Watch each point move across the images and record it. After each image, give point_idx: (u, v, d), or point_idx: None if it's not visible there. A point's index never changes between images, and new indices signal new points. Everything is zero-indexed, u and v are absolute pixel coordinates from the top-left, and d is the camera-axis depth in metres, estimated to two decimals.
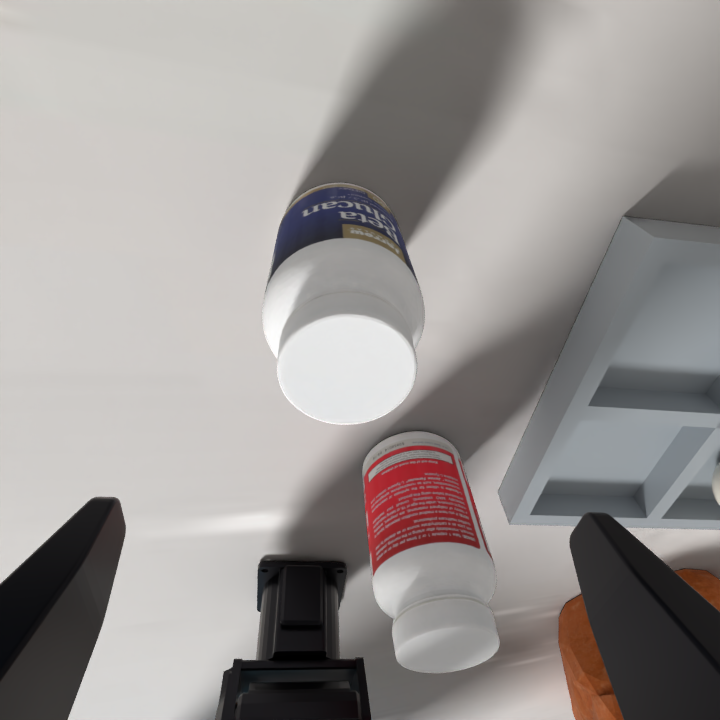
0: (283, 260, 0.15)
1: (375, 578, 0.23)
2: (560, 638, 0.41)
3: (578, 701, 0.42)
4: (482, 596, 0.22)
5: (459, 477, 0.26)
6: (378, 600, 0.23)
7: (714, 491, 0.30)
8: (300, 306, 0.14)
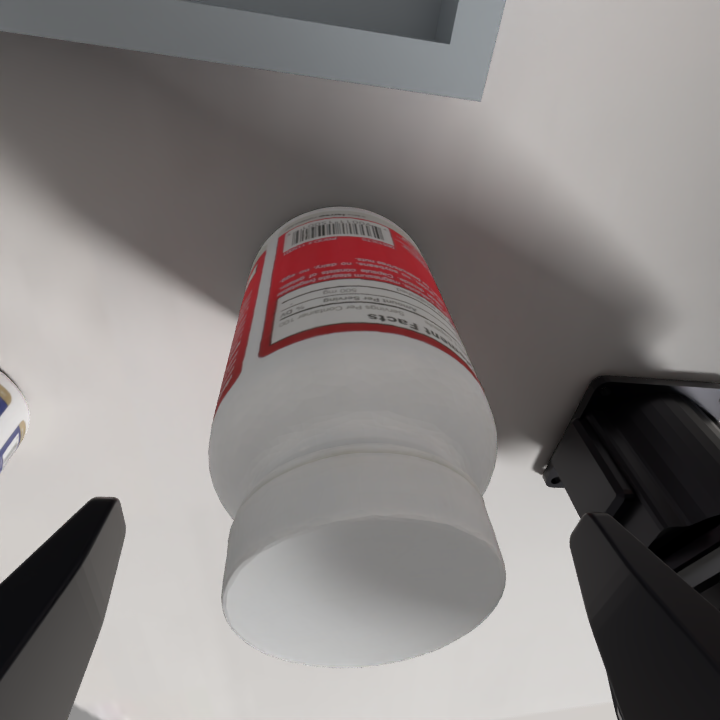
0: None
1: None
2: None
3: None
4: (310, 436, 0.08)
5: (259, 278, 0.13)
6: None
7: None
8: None
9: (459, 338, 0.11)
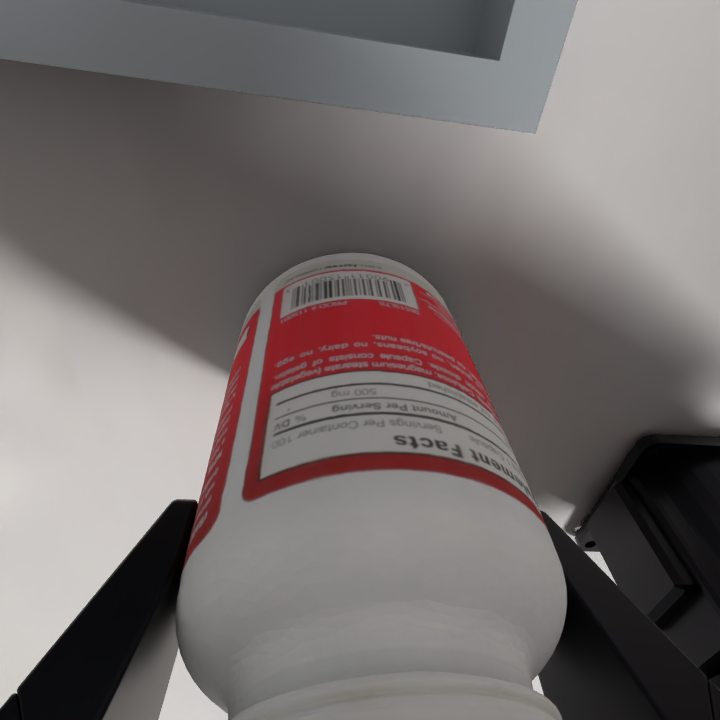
0: None
1: None
2: None
3: None
4: (314, 638, 0.06)
5: (249, 349, 0.10)
6: None
7: None
8: None
9: (507, 442, 0.09)
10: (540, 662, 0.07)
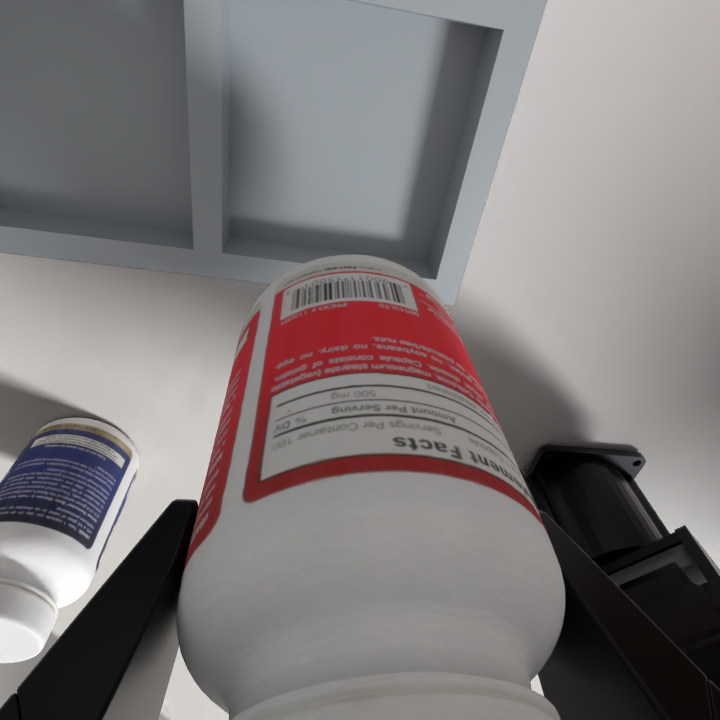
0: None
1: None
2: None
3: None
4: (314, 637, 0.06)
5: (250, 351, 0.10)
6: None
7: None
8: None
9: (507, 443, 0.09)
10: (539, 662, 0.07)
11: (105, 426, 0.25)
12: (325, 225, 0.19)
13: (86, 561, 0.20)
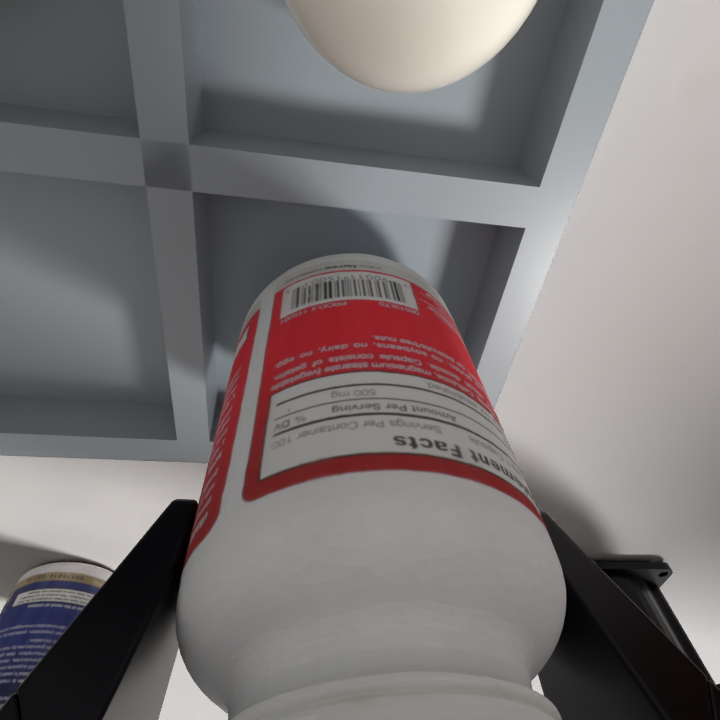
0: None
1: None
2: None
3: None
4: (313, 637, 0.06)
5: (250, 350, 0.10)
6: None
7: None
8: None
9: (507, 442, 0.09)
10: (540, 662, 0.07)
11: (94, 570, 0.23)
12: None
13: None
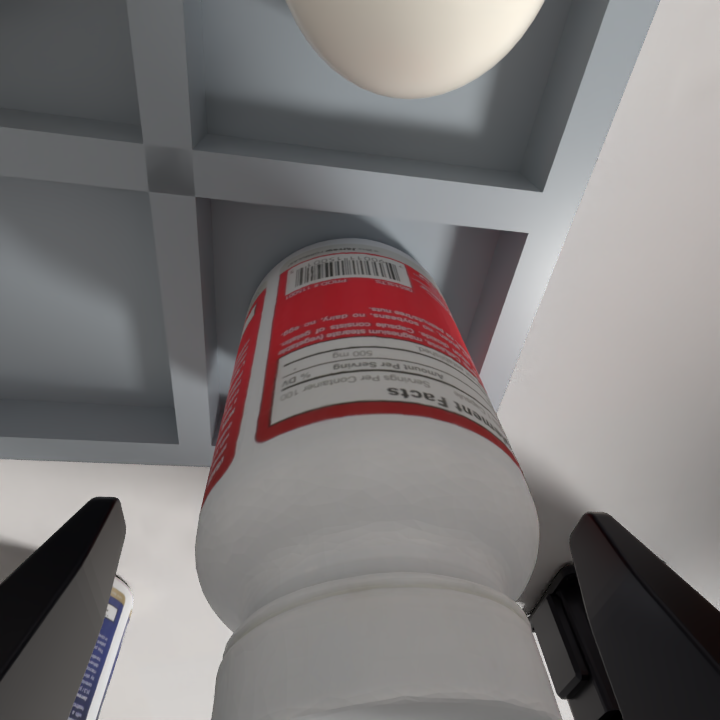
0: None
1: None
2: None
3: None
4: (318, 551, 0.07)
5: (257, 323, 0.11)
6: None
7: None
8: None
9: (490, 403, 0.10)
10: (515, 588, 0.08)
11: None
12: None
13: None
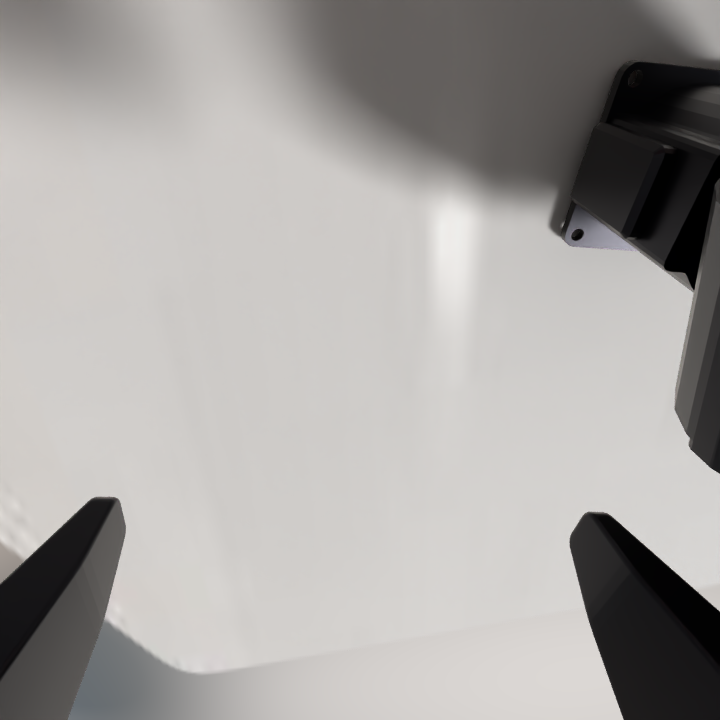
0: None
1: None
2: None
3: None
4: None
5: None
6: None
7: None
8: None
9: None
10: None
11: None
12: None
13: None
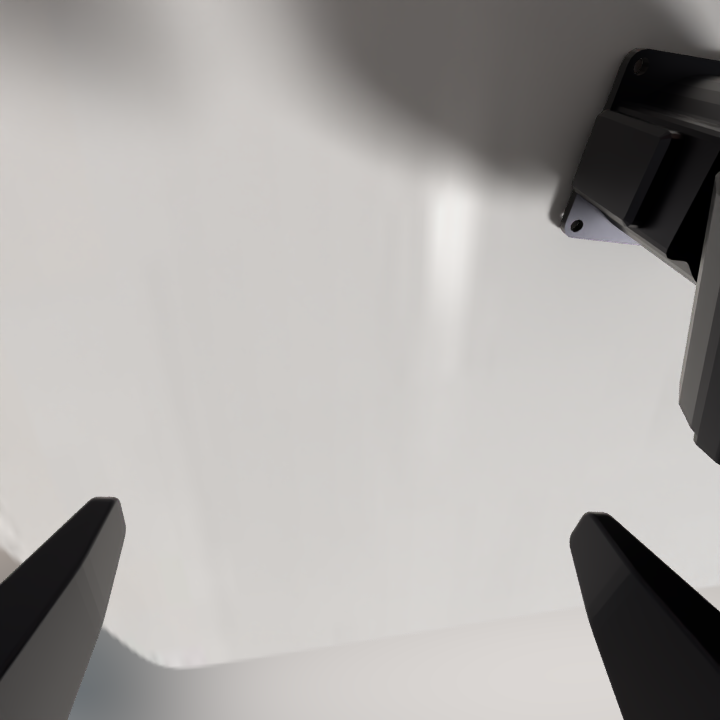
0: None
1: None
2: None
3: None
4: None
5: None
6: None
7: None
8: None
9: None
10: None
11: None
12: None
13: None
